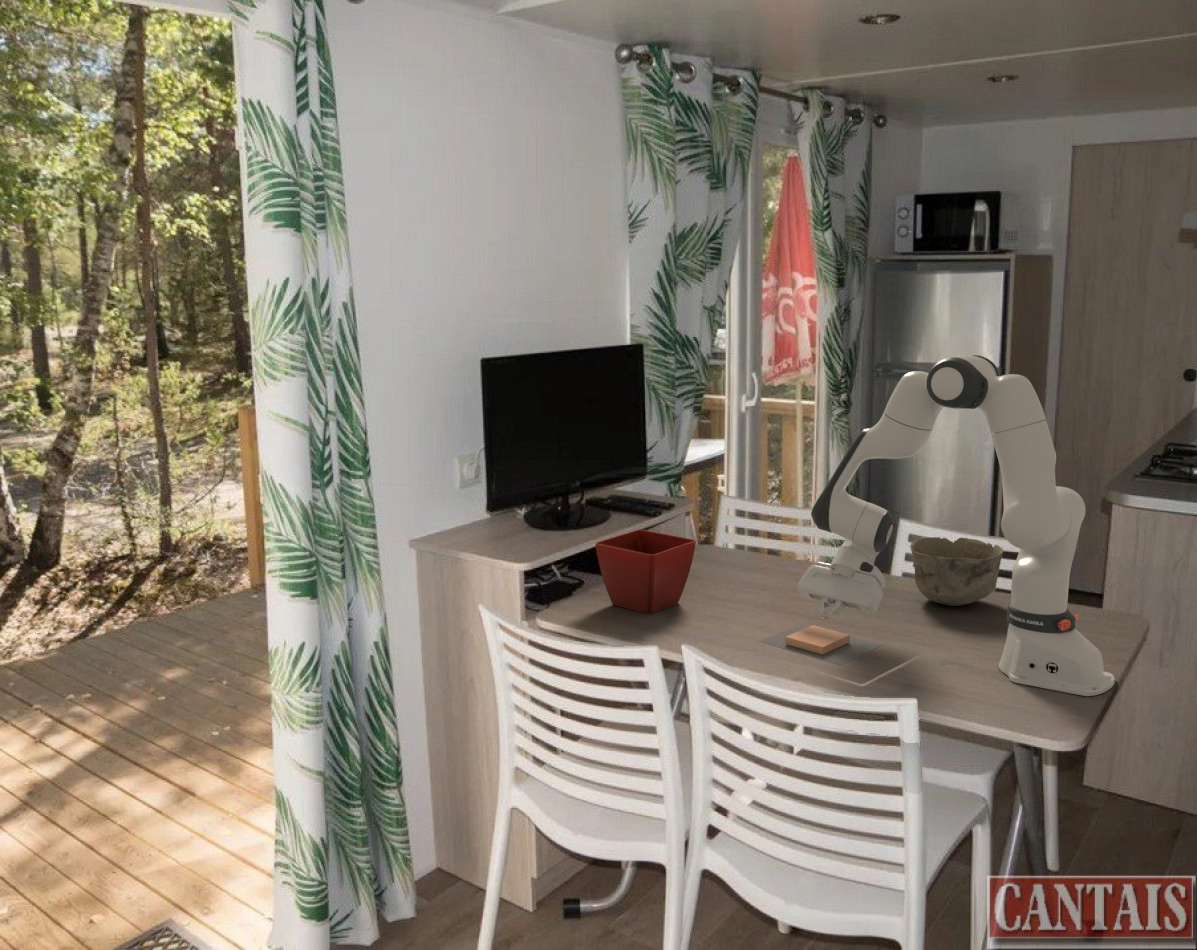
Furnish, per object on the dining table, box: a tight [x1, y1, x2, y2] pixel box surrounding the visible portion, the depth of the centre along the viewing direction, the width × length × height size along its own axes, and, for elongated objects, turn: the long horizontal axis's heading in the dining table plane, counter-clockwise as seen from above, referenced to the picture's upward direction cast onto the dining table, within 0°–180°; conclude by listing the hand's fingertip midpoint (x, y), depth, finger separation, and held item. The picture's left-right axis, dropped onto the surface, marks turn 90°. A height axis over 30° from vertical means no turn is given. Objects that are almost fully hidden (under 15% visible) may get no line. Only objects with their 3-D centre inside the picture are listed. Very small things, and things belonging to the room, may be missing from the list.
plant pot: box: [594, 529, 697, 615], centre depth 275 cm, size 19×19×17 cm
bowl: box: [909, 536, 1004, 607], centre depth 272 cm, size 22×22×15 cm
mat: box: [758, 623, 883, 666], centre depth 245 cm, size 22×17×1 cm
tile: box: [785, 624, 851, 655], centre depth 244 cm, size 10×2×11 cm
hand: (825, 618), depth 245 cm, fingers closed
